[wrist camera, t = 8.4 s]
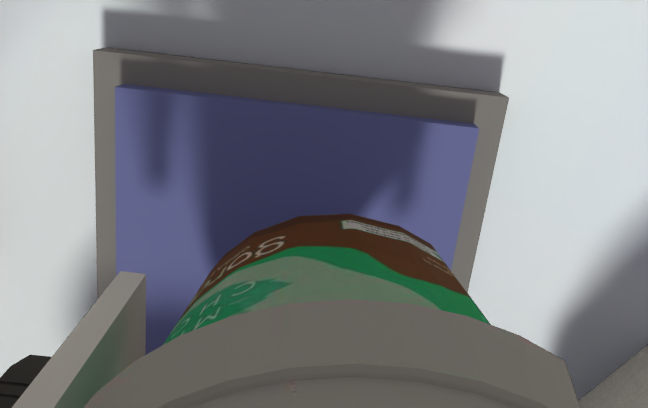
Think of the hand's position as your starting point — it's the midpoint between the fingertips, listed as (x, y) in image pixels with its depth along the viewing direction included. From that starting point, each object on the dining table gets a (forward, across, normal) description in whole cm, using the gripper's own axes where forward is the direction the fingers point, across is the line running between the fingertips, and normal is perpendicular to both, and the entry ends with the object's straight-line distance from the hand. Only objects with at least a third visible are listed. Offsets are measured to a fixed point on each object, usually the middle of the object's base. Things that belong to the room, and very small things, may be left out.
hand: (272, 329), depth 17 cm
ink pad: (+6, 0, 0) cm, 6 cm away
